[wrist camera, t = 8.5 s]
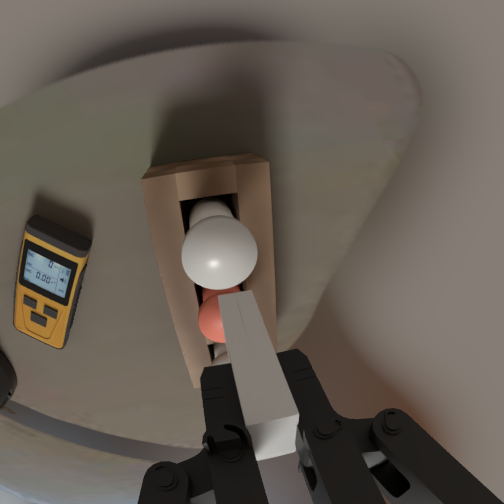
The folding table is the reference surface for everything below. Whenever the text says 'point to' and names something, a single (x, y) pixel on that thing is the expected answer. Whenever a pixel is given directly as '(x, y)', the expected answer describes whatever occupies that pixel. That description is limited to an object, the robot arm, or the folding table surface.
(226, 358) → the grey plug
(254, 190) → the socket block
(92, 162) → the folding table surface
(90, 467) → the folding table surface
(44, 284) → the electronic device
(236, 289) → the red plug
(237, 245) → the grey plug
